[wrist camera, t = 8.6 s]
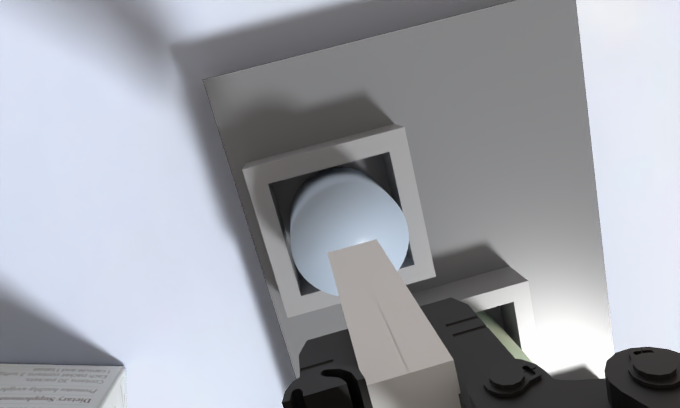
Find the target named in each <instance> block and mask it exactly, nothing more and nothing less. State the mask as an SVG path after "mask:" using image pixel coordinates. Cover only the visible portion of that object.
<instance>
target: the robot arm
mask: <svg viewBox="0 0 680 408" xmlns="http://www.w3.org/2000/svg"><path fill="white" fill-rule="evenodd" d="M328 257H329V261H330V264H331V268H332V272H333V275H334V279H335V283H336V286H337V290H338V294H339V297H340V301H341V305H342V308H343V312H344V316H345V320H346V323H347V327H348V329H345V330H341V331H338V332H334V333H331V334H327V335H324V336H321V337H317V338H314V339H310V340H307V341H306V343H305V345H304V346H303V348H302V350H301V352H300V354H299V368H300V377H299V378H297V379H296V380H295V381H293V383H292V384H291V385H290V386H289V388H288V389H287V390H286V391H285V394H284V397H283V401H282V404H283V407H284V408H680V353H678V352H675V351H671V350H668V349H661V348H653V347H640V348H630V349H627V350H623V351H620V352H617V353H615V354H614V355H613V356H612V357H611V358H609V359H608V360H607V362H606V366H605V370H604V372H605V378H602V379H586V380H558V379H553V378H552V377H551V376H550V375H549V374H548V373H547V372H546V371H545V370H544V369H542V368H541V367H539V366H538V365H537V364H535V363H532V362H529V361H526V360H522V359H515V358H514V357H513V355H512V354H511V353H510V352H509V351H508V350H507V349H506V347H505V346H504V345H503V344H502V343H501V342H500V341H499V339H498V338H497V337H496V336H495V335H494V334H493V333H492V331H491V330H490V329H489V328H488V327H486V325H485V323H484V322H483V321H482V320H481V319H480V318H478V315H477V314H476V313H475V312H474V311H473V310H472V309H471V307H470V306H469V305H468V304H466V303H463V302H461V301H459V300H456V299H454V298H452V297H451V298H447V299H444V300H440V301H437V302H433V303H430V304H426V305H423V306H419V305H418V303H417V302H416V300H415V299H414V297H413V295H412V294H411V292H410V291H409V289H408V288H407V286H406V284H405V283H404V281H403V280H402V278H401V277H400V275H399V274H398V272H397V270H396V269H395V267H394V266H393V264H392V263H391V261H390V259H389V258H388V256H387V255H386V253H385V252H384V250H383V248H382V247H381V245H380V244H379V242H378V241H377V239H375V240H371V241H368V242H364V243H361V244H357V245H353V246H350V247H346V248H342V249H339V250H335V251H332V252H328Z"/></svg>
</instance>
